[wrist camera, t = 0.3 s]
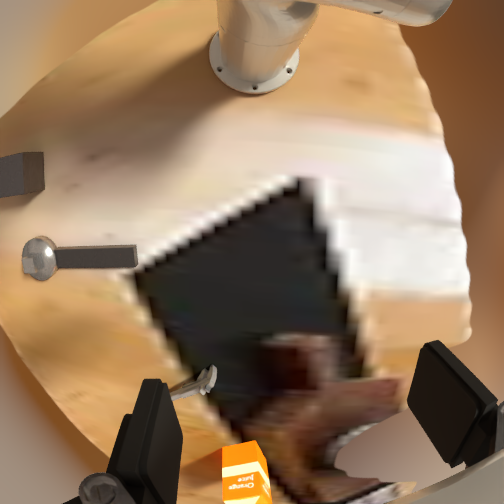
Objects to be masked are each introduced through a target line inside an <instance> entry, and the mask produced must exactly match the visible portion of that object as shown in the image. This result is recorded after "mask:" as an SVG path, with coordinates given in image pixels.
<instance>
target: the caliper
mask: <svg viewBox="0 0 504 504" xmlns="http://www.w3.org/2000/svg"><path fill="white" fill-rule="evenodd" d="M216 374H217V368H216V367H215V366H214V365H211V366H210V370H209V371H208V370H207V369H206V368H205V369H203V370H202V372H201V374H200V375H199V377H198V379H197V381H195V382H189V383H187V384H184V385H183V387H182V388H180V389H178V390H175V391H173V392H170V396H171V399H172V401H174V400H177V399H179V398H186V397H189V396H192V395H194V394H197V393H201V394H202V395H204V394H205V393H206V391H207V392H208V393H209V392H210V389H211V388H212V387H214V384H215V381H216Z"/></svg>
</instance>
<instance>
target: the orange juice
mask: <svg viewBox="0 0 504 504" xmlns="http://www.w3.org/2000/svg"><path fill="white" fill-rule="evenodd" d="M222 478H223V501H224V503H225V504H272V499H271V492H270V484H269V478H268V471H267V464H266V459H265V458H264V456H263V454H262V452H261V450H260V448H259V447H258V445H257V443H256V441H251V442H246V443H242V444H237V445H232V446H227V447H222Z"/></svg>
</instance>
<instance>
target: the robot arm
mask: <svg viewBox="0 0 504 504" xmlns="http://www.w3.org/2000/svg"><path fill="white" fill-rule="evenodd" d="M451 2H452V0H217V11H218V26H219V30H218V31H217V32H216V34H215V36H214V37H213V39H212V41H211V44H210V49H209V58H210V63H211V66H212V69H213V71H214V73H215V74H216V76H217V77H218V78H219V79H220V80H221V81H222V82H223V83H224V84H225V85H227V86H229V87H230V88H232V89H234V90H237V91H239V92H243V93H248V94H262V93H267V92H271V91H274V90H276V89H278V88H280V87H282V86H283V85H284V84H286V83H287V82H288V81H289V80H290V79H291V77H292V76H293V75H294V73H295V72H296V69H297V67H298V64H299V48H298V47H299V45H300V44H301V42H302V41H303V39H304V38H305V36H306V35H307V33H308V32H309V30H310V29H311V27H312V25H313V24H314V22H315V20H316V18H317V16H318V12H319V4H321V5H326V6H335V7H340V8H344V9H349V10H353V11H357V12H361V13H364V14H368V15H372V16H375V17H378V18H382V19H386V20H389V21H392V22H396V23H400V24H403V25H408V26H424V25H428V24H430V23H432V22H434V21H436V20H437V19H438V18H440V17H441V16H442V15H443V13H444V12H445V11H446V10H447V9H448V7H449V6H450V4H451ZM218 70H222V71H221V72H218ZM287 71H289V72H290V73H287ZM253 87H255V88H256V90H253ZM497 401H498V399H497V398H496V397H495V396H494V395H493V394H492V393H491V392H490V391H489V390H488V389H487V388H486V387H485V385H484V384H483V383H482V382H481V381H480V380H479V379H478V378H477V377H476V376H475V375H474V374H473V373H472V372H471V371H470V370H469V369H468V368H467V367H466V366H465V365H464V364H463V363H462V362H461V361H460V360H459V359H458V358H457V357H456V356H455V355H454V354H452V352H451V351H450V350H449V349H448V348H447V347H446V346H445V345H444V344H443V343H442V342H441V341H439V340H436V341H432V342H428V343H425V344H424V346H423V348H421V350H420V353H419V357H418V361H417V365H416V369H415V373H414V377H413V380H412V384H411V388H410V391H409V394H408V398H407V404H408V406H409V408H410V410H411V411H412V413H413V414H414V415H415V417H416V419H417V420H418V421H419V423H420V425H421V426H422V428H423V429H424V431H425V432H426V434H427V435H428V437H429V439H430V440H431V442H432V443H433V445H434V446H435V448H436V450H437V451H438V453H439V454H440V456H441V457H442V459H443V461H444V462H445V463H449V464H450V466H451V468H453V467H455V466H457V465H459V464H461V463H463V461H464V462H465V464H466V467H465V470H463V471H461V472H459V473H457V474H455V475H453V476H451V477H449V478H447V479H445V480H442V481H440V482H438V483H436V484H433V485H431V486H429V487H427V488H424V489H422V490H419V491H417V492H414V493H412V494H409V495H406V496H404V497H401V498H398V499H396V500H393V501H390V502H387V503H384V504H504V401H503V402H502V403H500V405H499V406H498V405H497V404H496V403H497ZM182 444H183V434H182V430H181V427H180V424H179V421H178V418H177V415H176V412H175V409H174V406H173V402H172V399H171V396H170V392H169V389H168V386H167V383H162V381H161V379H144V380H143V382H142V385H141V388H140V391H139V395H138V398H137V401H136V404H135V407H134V410H133V413H132V414H126V415H125V416H124V418H123V420H122V423H121V426H120V429H119V432H118V435H117V438H116V441H115V445H114V448H113V451H112V454H111V457H110V461H109V464H108V468H107V471H106V473H103V472H102V473H94V474H91V475H89V476H87V477H86V478H85V479H84V480H83V481H82V482H81V484H80V486H79V496H77V497H75V498H73V499H71V500H69V501H67V502H65V503H63V504H176V501H177V491H178V481H179V471H180V461H181V452H182Z"/></svg>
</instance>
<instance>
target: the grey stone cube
mask: <svg viewBox="0 0 504 504" xmlns="http://www.w3.org/2000/svg"><path fill="white" fill-rule="evenodd" d="M44 189H45V182H44V158H43V152H24V153H18V154H14V155H10V156H6V157H2V158H0V198H2V197H9V196H15V195H22V194H27V193H31V192H35V191H40V190H44Z"/></svg>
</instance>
